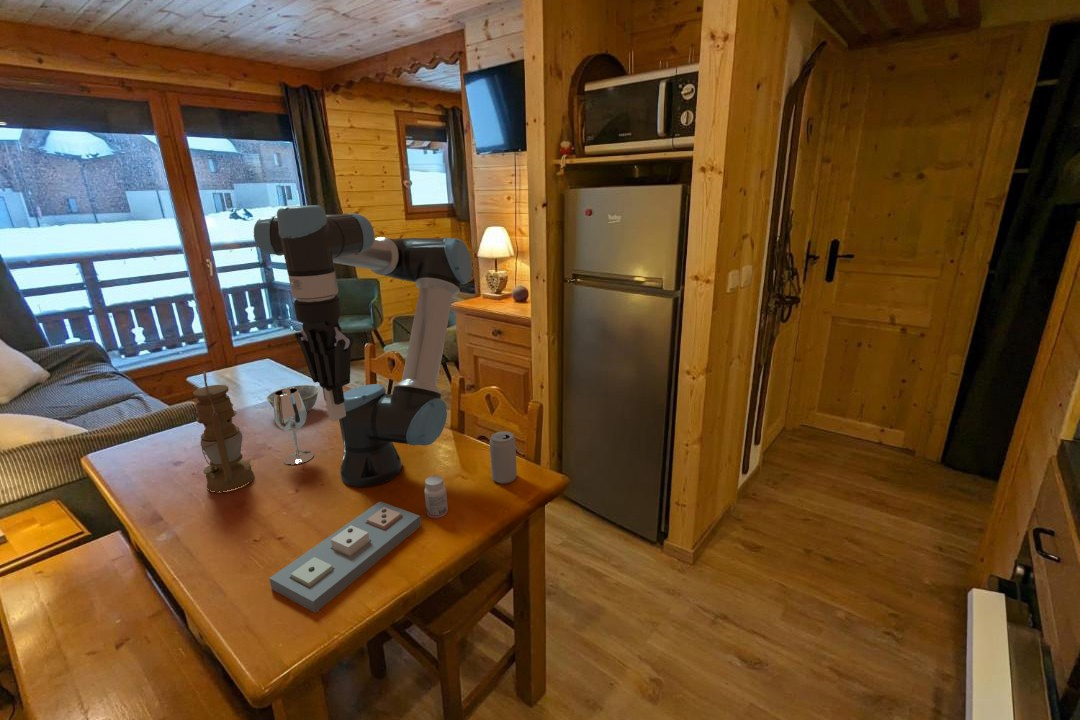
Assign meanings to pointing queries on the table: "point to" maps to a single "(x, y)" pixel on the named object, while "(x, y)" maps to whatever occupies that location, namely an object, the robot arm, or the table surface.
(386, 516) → the key three
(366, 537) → the key two
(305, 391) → the bowl
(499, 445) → the beverage can
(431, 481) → the pill bottle
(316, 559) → the key one
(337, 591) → the key board
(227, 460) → the lantern
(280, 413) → the wineglass
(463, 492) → the table surface
